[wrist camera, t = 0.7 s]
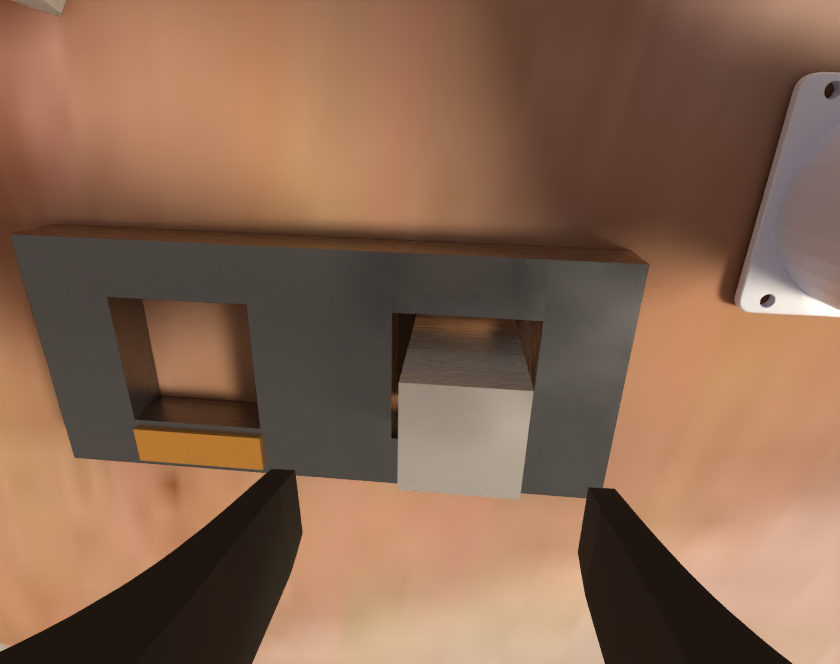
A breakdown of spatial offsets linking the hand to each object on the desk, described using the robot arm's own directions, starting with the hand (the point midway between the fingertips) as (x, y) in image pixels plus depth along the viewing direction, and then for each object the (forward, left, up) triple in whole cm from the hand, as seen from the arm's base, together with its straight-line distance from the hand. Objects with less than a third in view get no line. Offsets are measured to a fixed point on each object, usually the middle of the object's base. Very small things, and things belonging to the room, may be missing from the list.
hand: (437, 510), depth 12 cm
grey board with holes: (+5, 0, -9) cm, 11 cm away
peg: (-1, 0, -9) cm, 9 cm away
